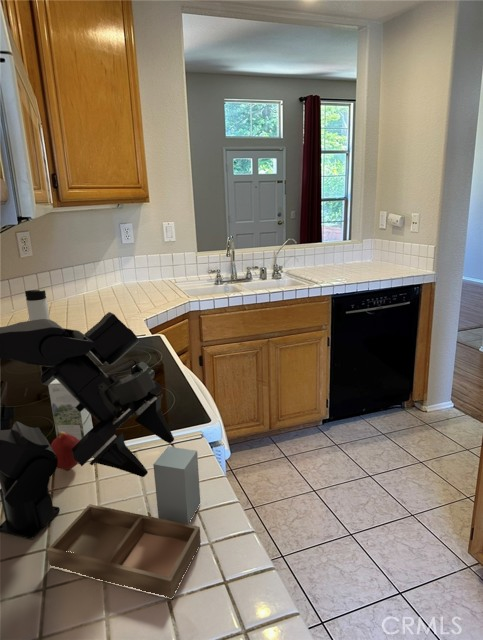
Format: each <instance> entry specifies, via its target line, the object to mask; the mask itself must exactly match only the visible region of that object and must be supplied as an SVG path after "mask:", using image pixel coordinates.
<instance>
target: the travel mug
mask: <svg viewBox="0 0 483 640" xmlns="http://www.w3.org/2000/svg"><path fill="white" fill-rule="evenodd" d="M24 293H25V297H26V299H25V300H26V307H27V313H28V318H29V321H32V320H39V319H48V320H51V319H50V311H49V306H48V300H47V293H46V290H45V289H43V290H40V289H34V290H33V289H29V290H25V291H24Z"/></svg>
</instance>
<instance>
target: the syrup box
mask: <svg viewBox="0 0 483 640" xmlns="http://www.w3.org/2000/svg"><path fill="white" fill-rule="evenodd" d="M47 386H48V393H49V398H50V404H51V405H50V406H51V410H52V416H53V422H54V428H55V435H56V438H57V437H58V436H59V435H58V433H59V432H64V433H67V434H70V435H72V436H74V437H76V438H77V439H78V440H79V441H80V440H81V439H82V438H83V437H84V436H85V435H86V434H87V433H88V432H89V431H90V430H91V429H92V428H93V427H94V426H93V425H94V424H93V420H92V415H91V414H90V413H89V412H88V411H87V410H86V409H84V410H82V411H81V412H79V411H78V410H77V409H76V408H75V407H76V406H77V405H78V404H79V402H78V401H77V400H76V399H75V398H74V397H73V396H72V395H71V394H70V393H69V392H68V391H67V390H66V388H65V387H64V386H63V385H62V384H61V383H60V382H59V381H58V380H57V379H55V380H54V381H52V382H51V383H50V384H49V385H47Z"/></svg>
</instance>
